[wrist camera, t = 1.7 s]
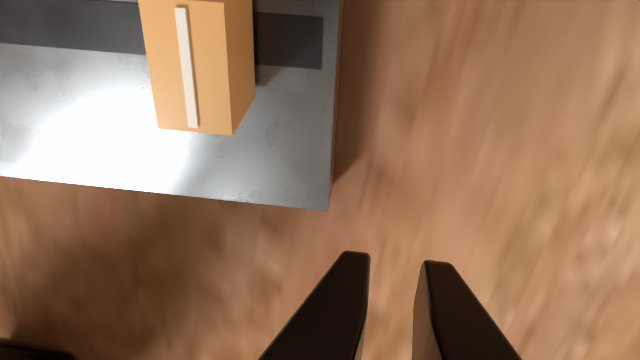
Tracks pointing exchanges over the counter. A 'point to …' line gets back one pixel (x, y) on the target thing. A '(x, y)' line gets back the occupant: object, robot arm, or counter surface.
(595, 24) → the counter surface
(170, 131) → the console
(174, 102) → the fader tab
